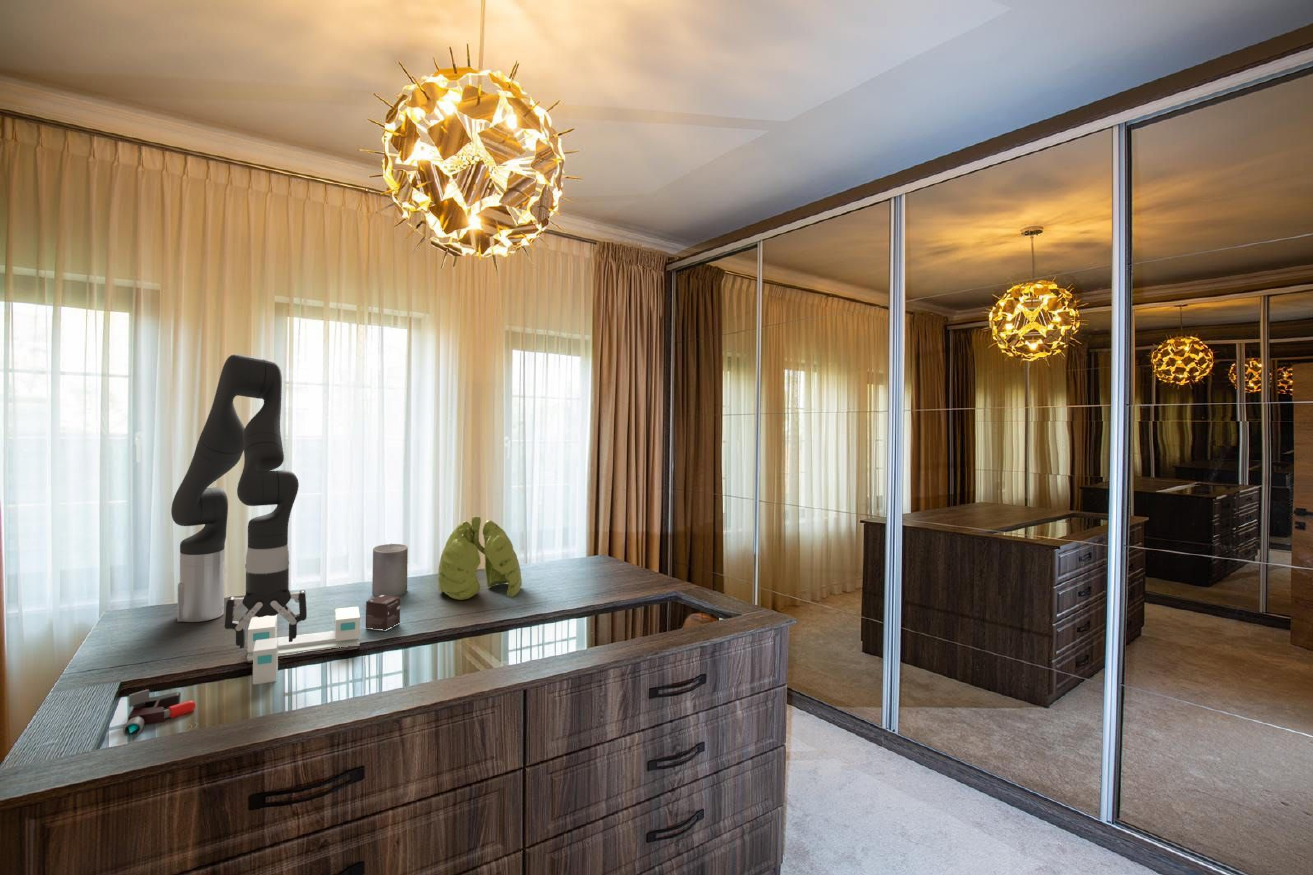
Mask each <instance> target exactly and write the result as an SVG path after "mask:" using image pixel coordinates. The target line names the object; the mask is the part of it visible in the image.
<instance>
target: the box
mask: <svg viewBox="0 0 1313 875" xmlns="http://www.w3.org/2000/svg"><path fill="white" fill-rule="evenodd" d="M400 622H401V596H387V595H380V596H377V597H376V596H373V597H372V598H371V599H368V600H366V601H365V627H366V628H373V629H383V630H386V629H388V628H390V627H393V626H394V625H396V624H398V623H400ZM400 624H401V623H400Z"/></svg>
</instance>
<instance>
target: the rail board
mask: <svg viewBox="0 0 1313 875" xmlns="http://www.w3.org/2000/svg"><path fill="white" fill-rule="evenodd" d="M359 608H360V607H359V606H350V607H340V608H335V611H334V612H335V613H334V616H335V617H334V630H330V631H322V632H321V631H320V632H313V633H305V634H297V636H296V638H295V639H293V642H289V635H288V636H287V635H286V636H280V637H279V636H278V614H276V616H264V617H257V616H253V617H252V619H251V620H250V621H249V624H248V628H247V653H248V654H247V655H246V656H247V657H246V660H247V659H253V650H254V646H255V642H256V640H262V639H271V638H278V655H286V654H293V653H298V652H303V651H308V650H324V649H331V648H339V647H340V648H341V647H348V646H360V644H361V643H360V633H361V632H360V631H361V630H360V627H361V616H360V614H361V613H360V609H359ZM277 636H278V637H277Z"/></svg>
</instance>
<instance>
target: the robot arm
mask: <svg viewBox="0 0 1313 875" xmlns="http://www.w3.org/2000/svg"><path fill="white" fill-rule="evenodd" d="M282 378H283V377H282V370H281V367H280V365H279V364H278V363H277V362H275V361H273V360H268V359H264V358H258V357H253V356H249V355H243V354H231V355H230V356H229V357H227V359H225V362H224V364H223V367H222V369H221V373H220V377H219V380H218V383H217V387H216V392H215V395H214V399H213V401H212V406H211V409H210V411H209V414H208V416H207V419H206V421H205V424H204V426H203V429H202V431H201V433H200V436H199V439H198V441H197V444H196V445H195V446H196V447H195V449H194V453H193V457H192V458H191V460H190V461H191V462H190V464H189V467H188V469H187V471H186V473H185V475H184V478H183V480H182V481H181V483H180V485H179V486H178V489H177V490H176V493H174V494H175V495H174V497H173V500H172V503H171V509H170V510H171V518H172V520H173V522H174V524H176V525H178V526H181V527H194V526H203V527H202V529H201V530H199V531H198V532H196V533H195V534H193V535H191V536H189V537H186V538H184V539H183V540H182V541H180V543H179V582H178V583H177V622H178V623H179V622H185V623H198V622H206V621H211V620H214V619H215V620H216V619H217V618H220V617H222V616H223V615H224V613H225V619H224V629H226V630H230V629H231V630H234V631H235V646H238V647H239V649H244V648H245V645H246V627H245V626H246V625H247V624H248V623H250V621H251V619H252V617H264V616H276V615H278V614H279V615H280V616H281V617H282V618H283V619H285V620H286V621H287V622H288V636H289V642H293V639H295V638H296V636H297V635H298V632H297V631H298V628H297V627H298V623H300V622H302V621H305V620H307V616H308V615H307V610H308V609H307V594H306V593H307V592H306V590H305V589H301V590H299V591H297V592H291V591H290V588H289V586H290V585H289V584H290V583H289V581H290V580H289V578H290V572H289V571H290V568H289V567H290V553H289V544H288V543H289V522H290V517H291V513H292V509H293V506H294V504H295V500H296V498H297V495H298V491H299V479H298V477H297V476H296V474H295V473H294V472H292V471H291V470H285V469H284V470H283V469H282V470H280V469H279V470H276V469H278V468H280V467H281V466H282V464H283V463H284V460H285V457H284V456H285V455H284V448H283V440H282V435H281V412H282V394H283V393H282V392H283V391H282V390H283V389H282V388H283V386H282V383H283V381H282V380H283V379H282ZM237 396H238V397H239V396H240V397H246V398H252V399H260V400H261V399H262V400H263V405H262V406H261V408H259V410H258V412H257V413H256V414H255V415H254V416H253V417H252V418H251V419H250V420H249V422H248V423H246V426H244V424H243V422H242V421H241V419H240V417H239V415H238V414H237V410H236V408H235V405H234V399H235V398H236V397H237ZM242 455H244V462H243V463H244V464H243V468H242V471H241V472H242V473H241V475H240V477H239V481H238V482H237V483H238V484H237V489H236V494H237V498H238V499H239V501H240V502H241V503H242V504H244V505H245V506H249V507H260V506H261V507H262V506H275V505H276V506H275V509H274V510H272V512H269V513H267V514H263V515H259V516H256V517H253V518H251V519H250V520H249V521H248V523H247V549H246V556H245V565H244V569H245V594H244V596H243V597H235V596H234V595H233V596H232V595H231V596H229V597H228V599H227V600H226V606H225V555H226V554H225V553H226V551H225V550H226V549H225V544H226V540H227V526H228V514H229V513H228V512H229V500H228V496H227V493H226V491H225V490H224V489H223V488H221V487H210V486H211V485H212V484H213V483H214V482H216V481H217V480H219V479H220V478H221V477H223V476H224V475H225V474H228V472H230V470H232V469H233V468H234V467H235V466H236V465H237V464H238V463H239V461H241V458H242ZM292 599H293V601H294V602H295V603H296V604H298V608H299V613H298V614H295V613H294V612H293V611H292V609H290V607H289V606H288V605H287V604H289V602H290V600H292ZM241 604H242V605H243V606H244V607H245V608H247V610H246V611H245V613H244V614H243V616H242V617H241V618H240V619H239V620H238V621H237V620H234V616H235V610H236V609H238V608H239V606H240V605H241Z"/></svg>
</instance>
